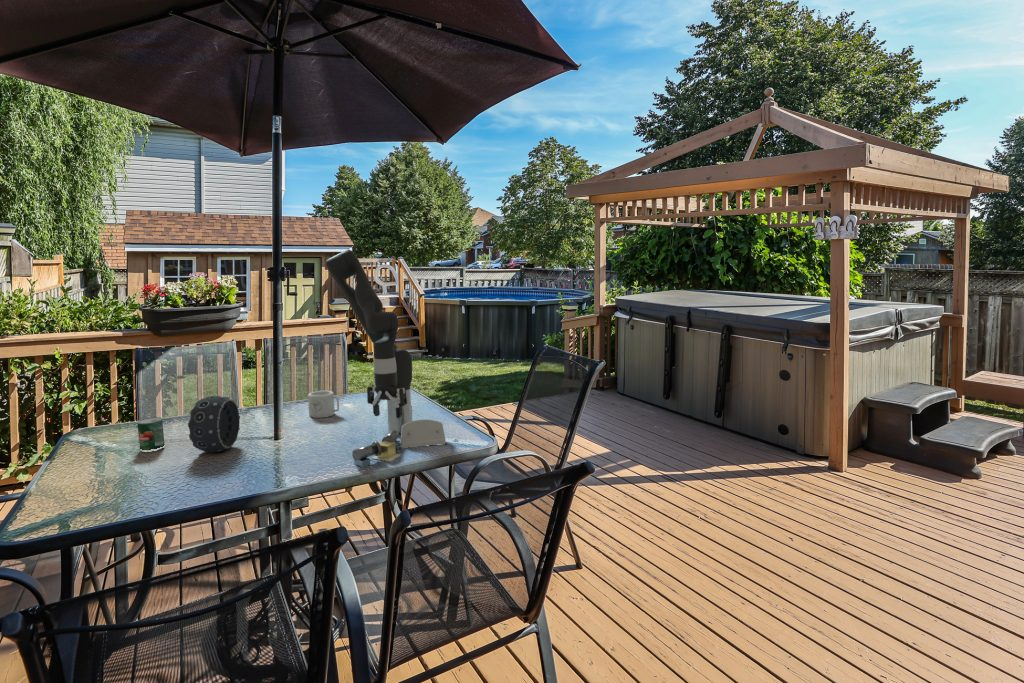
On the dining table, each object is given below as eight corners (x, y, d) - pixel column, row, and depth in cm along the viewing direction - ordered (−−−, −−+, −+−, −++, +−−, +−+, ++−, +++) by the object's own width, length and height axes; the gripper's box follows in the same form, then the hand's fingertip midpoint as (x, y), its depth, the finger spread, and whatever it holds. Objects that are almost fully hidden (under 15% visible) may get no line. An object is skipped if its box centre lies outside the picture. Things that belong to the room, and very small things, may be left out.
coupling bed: (382, 452, 210) (382, 451, 210) (401, 455, 207) (401, 454, 207) (371, 458, 204) (371, 457, 204) (390, 461, 201) (390, 460, 201)
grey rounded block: (400, 448, 215) (399, 420, 216) (400, 448, 219) (398, 421, 221) (446, 444, 218) (444, 417, 220) (445, 445, 223) (443, 418, 225)
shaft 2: (387, 445, 218) (387, 428, 217) (400, 445, 218) (400, 428, 217) (382, 453, 209) (381, 436, 208) (395, 453, 209) (394, 436, 208)
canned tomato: (136, 453, 212) (132, 423, 211) (145, 446, 220) (142, 417, 218) (159, 452, 214) (156, 422, 212) (168, 445, 221) (165, 416, 220)
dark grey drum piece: (244, 441, 225) (239, 390, 222) (219, 459, 205) (214, 403, 202) (215, 442, 224) (210, 390, 221) (188, 460, 204) (182, 404, 201)
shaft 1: (360, 468, 195) (359, 449, 194) (351, 465, 198) (350, 446, 197) (382, 461, 202) (381, 443, 201) (373, 458, 205) (372, 440, 204)
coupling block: (377, 457, 205) (376, 445, 204) (384, 453, 209) (384, 441, 208) (388, 459, 203) (387, 446, 202) (395, 454, 207) (395, 442, 206)
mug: (304, 418, 256) (303, 395, 255) (316, 411, 267) (315, 389, 265) (333, 419, 254) (332, 396, 252) (344, 412, 264) (343, 390, 263)
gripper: (361, 371, 200) (364, 418, 203) (398, 373, 195) (400, 421, 198) (373, 367, 207) (376, 412, 210) (409, 369, 202) (411, 415, 205)
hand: (388, 416), depth 204 cm, fingers open, 8 cm apart
